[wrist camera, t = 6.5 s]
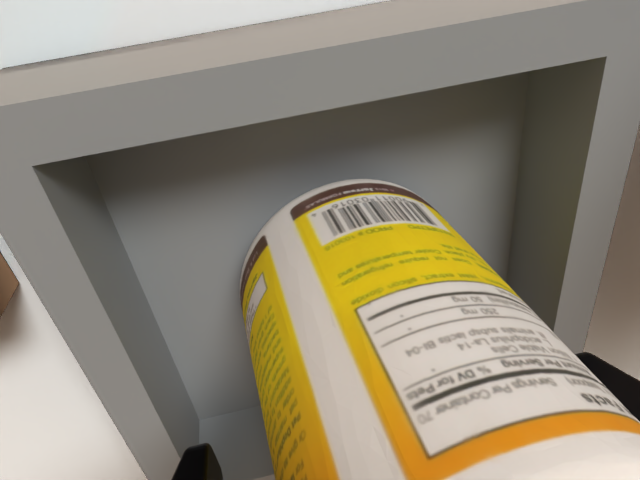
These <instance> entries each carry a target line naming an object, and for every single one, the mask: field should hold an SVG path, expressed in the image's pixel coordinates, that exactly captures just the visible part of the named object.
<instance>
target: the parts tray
mask: <svg viewBox="0 0 640 480" xmlns="http://www.w3.org/2000/svg"><path fill="white" fill-rule="evenodd" d="M639 124H640V0H390V1H385V2H379V3H373V4H367V5H362V6H356V7H350V8H345V9H339V10H333V11H327V12H322V13H316V14H310V15H305V16H299V17H293V18H287V19H282V20H276V21H270V22H265V23H259V24H253V25H247V26H242V27H236V28H230V29H225V30H219V31H213V32H207V33H202V34H196V35H190V36H185V37H179V38H173V39H167V40H162V41H156V42H150V43H145V44H139V45H133V46H127V47H122V48H116V49H110V50H105V51H99V52H93V53H87V54H82V55H76V56H70V57H65V58H59V59H53V60H47V61H42V62H36V63H30V64H25V65H19V66H13V67H7V68H3V69H1V70H0V233H1V235H2V236H3V238H4V240H5V241H6V243H7V245H8V246H9V248H10V250H11V251H12V253H13V255H14V256H15V258H16V260H17V261H18V263H19V265H20V266H21V268H22V270H23V271H24V273H25V275H26V276H27V278H28V280H29V281H30V283H31V285H32V286H33V288H34V290H35V291H36V293H37V295H38V296H39V298H40V300H41V302H42V303H43V305H44V307H45V308H46V310H47V312H48V313H49V315H50V317H51V318H52V320H53V322H54V323H55V325H56V327H57V328H58V330H59V332H60V333H61V335H62V337H63V338H64V340H65V342H66V343H67V345H68V347H69V348H70V350H71V352H72V353H73V355H74V357H75V358H76V360H77V362H78V363H79V365H80V367H81V368H82V370H83V372H84V373H85V375H86V377H87V378H88V380H89V382H90V384H91V385H92V387H93V389H94V390H95V392H96V394H97V395H98V397H99V399H100V400H101V402H102V404H103V405H104V407H105V409H106V410H107V412H108V414H109V415H110V417H111V419H112V420H113V422H114V424H115V425H116V427H117V429H118V430H119V432H120V434H121V435H122V437H123V439H124V440H125V442H126V444H127V445H128V447H129V449H130V450H131V452H132V454H133V455H134V457H135V459H136V460H137V462H138V464H139V466H140V467H141V469H142V471H143V472H144V474H145V476H146V477H147V479H148V480H171V479H172V477H173V474H174V472H175V470H176V468H177V466H178V464H179V461H180V459H181V457H182V455H183V453H184V451H185V450H186V449H187V448H188V447H190V446H194V445H198V444H202V443H209V444H210V445H211V446H212V449H213V451H214V453H215V455H216V458H217V460H218V462H219V465H220V467H221V470H222V475H223V480H275V475H274V470H273V465H272V460H271V454H270V449H269V445H268V440H267V435H266V430H265V424H264V419H263V414H262V409H261V404H260V399H259V394H258V389H257V385H256V379H255V374H254V369H253V364H252V359H251V354H250V349H249V344H248V340H247V334H246V329H245V324H244V318H243V313H242V308H241V302H240V278H241V272H242V267H243V264H244V260H245V258H246V255H247V253H248V250H249V248H250V246H251V244H252V242H253V240H254V239H255V237H256V236H257V234H258V233H259V232H260V230H261V229H262V227H263V226H264V225H265V224H266V223H267V222H268V221H269V219H270V218H271V217H272V216H274V215H275V214H276V213H277V212H278V211H279V210H280V209H281V208H283V207H284V206H285V205H287V204H288V203H289V202H291V201H292V200H294V199H296V198H297V197H299V196H301V195H303V194H304V193H306V192H308V191H310V190H313V189H315V188H318V187H321V186H323V185H326V184H330V183H333V182H339V181H344V180H351V179H373V180H381V181H386V182H391V183H394V184H397V185H399V186H402V187H404V188H406V189H408V190H410V191H412V192H414V193H415V194H417V195H419V196H420V197H421V198H423V199H424V200H425V201H427V202H428V203H429V204H430V205H431V206H432V207H433V208H434V209H435V210H437V211H438V212H439V214H440V215H441V216H442V217H443V218H444V219H445V220H446V221H447V222H448V223H449V224H450V225H451V226H452V228H453V229H454V230H455V231H456V232H457V233H458V234H459V235H460V236H461V237H462V238H463V239H464V240H465V241H466V242H467V243H468V244H469V245H470V246H471V247H472V248H473V249H474V250H475V251H476V252H477V253H478V254H479V255H480V256H481V257H482V258H483V259H484V261H485V262H486V263H487V264H488V265H489V266H490V267H491V268H492V269H493V270H494V271H495V272H496V273H497V274H498V275H499V276H500V277H501V278H502V279H503V280H504V281H505V282H506V283H507V284H508V285H509V286H510V287H511V289H512V290H513V291H514V292H515V293H516V294H517V295H518V296H519V297H520V298H521V299H522V300H523V301H524V302H525V303H526V304H527V305H528V306H529V307H530V308H531V309H532V311H533V312H534V313H535V314H536V315H537V316H538V317H539V318H540V319H541V320H542V321H543V322H544V323H545V324H546V325H547V326H548V327H549V328H550V329H551V330H552V332H553V333H554V334H555V335H556V336H557V337H558V338H559V339H560V340H561V341H562V342H563V343H564V344H565V345H566V346H567V347H568V348H569V349H570V350H571V351H572V352H573V353H574V354H577V353H582V352H583V349H584V345H585V341H586V337H587V333H588V329H589V325H590V321H591V317H592V313H593V309H594V305H595V301H596V297H597V293H598V289H599V285H600V281H601V277H602V272H603V268H604V264H605V260H606V256H607V252H608V248H609V244H610V240H611V236H612V232H613V228H614V224H615V220H616V216H617V212H618V208H619V204H620V200H621V196H622V192H623V188H624V184H625V180H626V176H627V172H628V168H629V164H630V160H631V156H632V152H633V148H634V144H635V140H636V136H637V132H638V128H639Z"/></svg>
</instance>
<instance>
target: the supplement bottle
mask: <svg viewBox="0 0 640 480" xmlns="http://www.w3.org/2000/svg"><path fill="white" fill-rule="evenodd" d="M240 302H241V308H242V313H243V318H244V324H245V329H246V334H247V340H248V344H249V349H250V354H251V359H252V364H253V369H254V374H255V379H256V385H257V389H258V394H259V399H260V404H261V409H262V414H263V419H264V424H265V430H266V435H267V440H268V445H269V449H270V454H271V460H272V465H273V470H274V475H275V480H640V422H639V420H638V419H637V418H635V417H634V416H633V415H632V414H631V413H630V412H629V411H628V410H627V409H626V408H625V407H624V406H623V404H622V403H621V402H620V401H619V400H618V399H617V398H616V397H615V396H614V395H613V394H612V393H611V392H610V391H609V390H608V389H607V388H606V387H605V386H604V384H603V383H602V382H601V381H600V380H599V379H598V378H597V377H596V376H595V375H594V374H593V373H592V372H591V371H590V370H589V369H588V368H587V367H586V366H585V365H584V364H583V363H582V362H581V361H580V360H579V359H578V358H577V356H576V355H575V354H574V353H573V352H572V351H571V350H570V349H569V348H568V347H567V346H566V345H565V344H564V343H563V342H562V341H561V340H560V339H559V338H558V337H557V336H556V335H555V334H554V333H553V332H552V330H551V329H550V328H549V327H548V326H547V325H546V324H545V323H544V322H543V321H542V320H541V319H540V318H539V317H538V316H537V315H536V314H535V313H534V312H533V311H532V309H531V308H530V307H529V306H528V305H527V304H526V303H525V302H524V301H523V300H522V299H521V298H520V297H519V296H518V295H517V294H516V293H515V292H514V291H513V290H512V289H511V287H510V286H509V285H508V284H507V283H506V282H505V281H504V280H503V279H502V278H501V277H500V276H499V275H498V274H497V273H496V272H495V271H494V270H493V269H492V268H491V267H490V266H489V265H488V264H487V263H486V262H485V261H484V259H483V258H482V257H481V256H480V255H479V254H478V253H477V252H476V251H475V250H474V249H473V248H472V247H471V246H470V245H469V244H468V243H467V242H466V241H465V240H464V239H463V238H462V237H461V236H460V235H459V234H458V233H457V232H456V231H455V230H454V229H453V228H452V226H451V225H450V224H449V223H448V222H447V221H446V220H445V219H444V218H443V217H442V216H441V215H440V214H439V212H438V211H437V210H435V209H434V208H433V207H432V206H431V205H430V204H429V203H428V202H427V201H425V200H424V199H423V198H421V197H420V196H419V195H417V194H415V193H414V192H412V191H410V190H408V189H406V188H404V187H402V186H399V185H397V184H394V183H391V182H386V181H381V180H373V179H351V180H344V181H339V182H333V183H330V184H326V185H323V186H321V187H318V188H315V189H313V190H310V191H308V192H306V193H304V194H303V195H301V196H299V197H297V198H296V199H294V200H292V201H291V202H289V203H288V204H287V205H285V206H284V207H283V208H281V209H280V210H279V211H278V212H277V213H276V214H275V215H274V216H272V217H271V218H270V219H269V221H268V222H267V223H266V224H265V225H264V226H263V227H262V229H261V230H260V232H259V233H258V234H257V236H256V237H255V239H254V240H253V242H252V244H251V246H250V248H249V250H248V253H247V255H246V258H245V260H244V264H243V267H242V272H241V278H240Z"/></svg>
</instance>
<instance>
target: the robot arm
mask: <svg viewBox="0 0 640 480" xmlns="http://www.w3.org/2000/svg"><path fill="white" fill-rule="evenodd" d="M575 355H576V356H577V358H578V359H579V360H580V361H581V362H582V363H583V364H584V365H585V366H586V367H587V368H588V369H589V370H590V371H591V372H592V373H593V374H594V375H595V376H596V377H597V378H598V379H599V380H600V381H601V382H602V383H603V384H604V386H605V387H606V388H607V389H608V390H609V391H610V392H611V393H612V394H613V395H614V396H615V397H616V398H617V399H618V400H619V401H620V402H621V403H622V404H623V406H624V407H625V408H626V409H627V410H628V411H629V412H630V413H631V414H632V415H633V416H634V417H635V418H637V419H638V420H639V422H640V381H639V380H637V379H635V378H633V377H632V376H630V375H628V374H626V373H625V372H623V371H621V370H619V369H618V368H616V367H614V366H612V365H610V364H609V363H607V362H605V361H603V360H602V359H600V358H598V357H596V356H595V355H593V354H591V353H587V352H582V353H577V354H575ZM171 480H223V475H222V470H221V467H220V465H219V462H218V460H217V458H216V455H215V453H214V451H213V449H212V446H211V445H210V444H209V443H202V444H198V445H194V446H190V447H188V448H187V449H186V450H185V451H184V453H183V455H182V457H181V459H180V461H179V464H178V466H177V468H176V470H175V472H174V474H173V477H172V479H171Z"/></svg>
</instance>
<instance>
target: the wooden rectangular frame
mask: <svg viewBox="0 0 640 480" xmlns="http://www.w3.org/2000/svg"><path fill="white" fill-rule="evenodd" d="M18 284H19V282H18V281H17V279H16V277H15V276H14V274H13V272H12V271H11V269H10V268H9V266H8V264H7V263H6V261H5V259H4V258H3V256H2V255H1V253H0V318H1V316H2V314H3V312H4V310H5V308H6V306H7V305H8V303H9V301H10V299H11V297H12V295H13V293H14V291H15V290H16V288H17V286H18Z"/></svg>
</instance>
